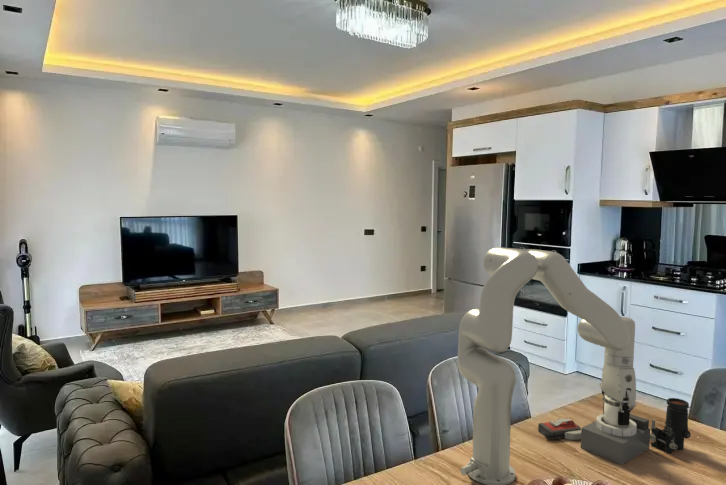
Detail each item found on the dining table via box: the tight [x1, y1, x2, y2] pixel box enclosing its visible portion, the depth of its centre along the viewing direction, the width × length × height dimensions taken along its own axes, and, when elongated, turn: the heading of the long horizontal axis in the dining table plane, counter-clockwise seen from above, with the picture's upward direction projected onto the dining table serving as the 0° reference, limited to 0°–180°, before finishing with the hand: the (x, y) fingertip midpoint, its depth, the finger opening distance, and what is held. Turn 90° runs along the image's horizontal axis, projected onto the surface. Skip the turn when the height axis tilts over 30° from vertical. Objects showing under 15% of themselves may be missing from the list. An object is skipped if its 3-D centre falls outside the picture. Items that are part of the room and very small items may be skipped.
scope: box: [650, 397, 692, 455], centre depth 146 cm, size 8×14×10 cm
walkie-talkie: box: [537, 417, 582, 441], centre depth 155 cm, size 9×4×20 cm
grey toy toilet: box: [580, 413, 651, 466], centre depth 146 cm, size 16×12×8 cm
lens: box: [603, 395, 628, 428], centre depth 145 cm, size 6×6×9 cm
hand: (615, 419), depth 145 cm, fingers closed on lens, 6 cm apart
